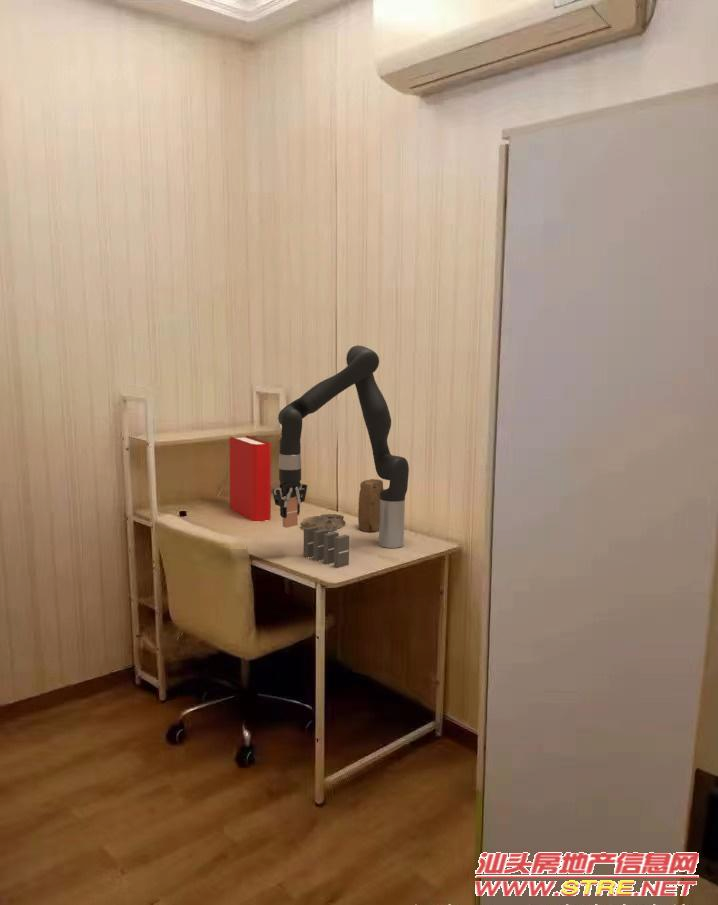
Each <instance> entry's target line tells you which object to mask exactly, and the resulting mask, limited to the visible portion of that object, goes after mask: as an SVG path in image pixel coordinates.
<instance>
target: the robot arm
mask: <svg viewBox="0 0 718 905" xmlns="http://www.w3.org/2000/svg"><path fill="white" fill-rule="evenodd" d="M345 359H346V367H345V368H343V369H342V370H341V371H339V372H338V373H336V374H334V375H332V376H330V377H328V378H326V379H324V380H321V381H320V382H318V383H317V384H316V385H314V386H312V387H311V388H310V389H308V390H307V391H306V392H305V393H303V394H302V395H301V396H300V397H299V398H297V399H295V400H294V401H292V402H290V403H289V404H287V405H286V406H285V407H283V408H282V409H281V410H280V411H279V413H278V417H277V419H278V422H279V424H280V425H281V437H280V439H279V457H278V480H279V486H278V487H277V488H273V489H271V492H272V496H273V500H274V505H275V506H277V507H278V506H279V507H280V508H279V511H280V512H279V515H280V517H281V518H282V519H283V518H286V517H287V507H286V506H287V502H288V501H289V499H290V497H291V496H295V497H296V498H297V502H298V505H297V515H298V516H300V513H301V512H300V511H301V504H302V503H303V502H305V500H306V495H307V490H308V484H305V483H301V481H302V456H301V455H302V453H301V451H302V450H301V449H302V448H301V444H302V443H301V438H302V430H303V419H304V418H306V417H307V416H308V415H310V414H314V413H315V412H317V411H318V410H320V409H321V408H322V407H323V406H325V405H326V404H328V403H329V401H331V400H332V399H334V398H335V397H336V396H338V395H339V394H340V393H343V391H345V390H347V389H348V388H350V387H351V386H355V389H356V393H357V397H358V401H359V405H360V408H361V413H362V416H363V420H364V423H365V427H366V429H367V433H368V438H369V441H370V442H369V443H370V446H371V449H372V450H371V452H372V456H373V463H374V466H375V467H374V468H375V471H376V473H377V476H378V477H379V478H380V479H381V480H386V481H389V486H388V487H387V488H386V489H384V488H383V489H384V490H382V491H381V492H380V512H379V531H378V546H380V547H383V548H387V549H397V548H402V547H404V546H405V544H404V543H405V542H404V540H405V510H406V507H405V506H406V495H407V491H408V487H409V486H408V485H409V475H410V474H409V472H410V469H409V468H410V467H409V463H408V460H407V459H406V458H405V457H403V456H399V455H393V454H391V451H390V448H389V444H388V438H389V434H390V431H391V427H392V419H391V418H392V417H391V414H390V410H389V406H388V403H387V401H386V398H385V397H384V395H383V393H382V392H381V389H380V388H379V386H378V384H377V381H376V379H375V376H374V372H376V371H377V370H378V368H379V364H380V357H379V355H378V353H376V352H375V351H374V350H372V349H371V348H368V347H366V346H364V345H354V346H352V347H350V348H349V349H348V352H347V353H346V358H345ZM284 497H286V498H284ZM283 500H284V503H283Z"/></svg>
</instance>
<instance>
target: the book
mask: <svg viewBox="0 0 718 905" xmlns="http://www.w3.org/2000/svg"><path fill="white" fill-rule="evenodd" d="M230 437H231V438H230ZM230 437H229V509H230V508H231V510H232V511H233V512H235V511H236V512H235V513H237V512H238V514H239V513H240V514H239V515H241V516H242V515H243V516H242V517H244V516H245V519H248V520H249V519H250V521H251V520H252V521H251V522H253V521H260V522H266V521H265V520H269V521H271V520H270V519H271V518H272V514H271V512H272V510H271V509H272V488H271V487H272V467H271V466H272V443H271V442H269V441H266V440H262V439H260V438H256V437H253V436H250V435H246V436H244V437H233V436H230Z"/></svg>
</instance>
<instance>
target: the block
mask: <svg viewBox="0 0 718 905" xmlns="http://www.w3.org/2000/svg"><path fill="white" fill-rule="evenodd" d="M382 490H384V482H383V479H376V478H371V479H365V480H363V481H361V482H360V490H359V496H358V515H357V517H358V518H357V519H358V520H357V521H358V529H359V530H361V531H363V532H368V533H371V532H373V533H375V532H374V531H376V532H379V531H378V530H379V512H380V492H381V491H382Z"/></svg>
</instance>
